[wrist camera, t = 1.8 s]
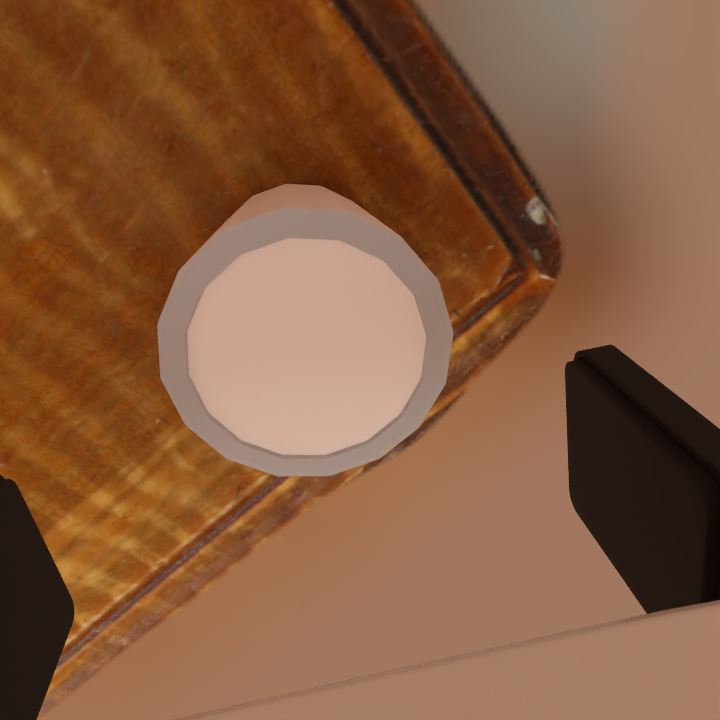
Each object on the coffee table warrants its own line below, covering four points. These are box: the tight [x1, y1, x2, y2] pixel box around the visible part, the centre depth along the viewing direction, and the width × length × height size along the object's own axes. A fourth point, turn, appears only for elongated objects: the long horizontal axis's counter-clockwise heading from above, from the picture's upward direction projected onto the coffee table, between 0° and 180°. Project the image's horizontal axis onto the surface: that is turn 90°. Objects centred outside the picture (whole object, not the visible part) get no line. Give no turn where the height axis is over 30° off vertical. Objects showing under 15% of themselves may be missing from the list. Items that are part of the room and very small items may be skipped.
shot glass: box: [157, 184, 453, 476], centre depth 18 cm, size 7×7×7 cm
